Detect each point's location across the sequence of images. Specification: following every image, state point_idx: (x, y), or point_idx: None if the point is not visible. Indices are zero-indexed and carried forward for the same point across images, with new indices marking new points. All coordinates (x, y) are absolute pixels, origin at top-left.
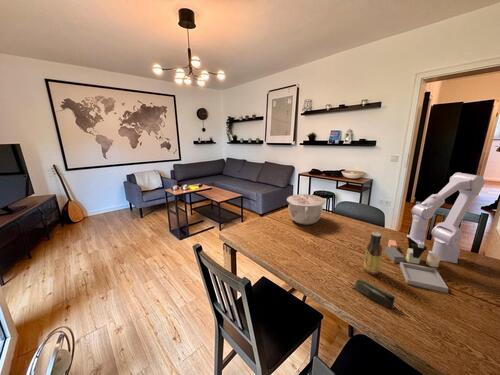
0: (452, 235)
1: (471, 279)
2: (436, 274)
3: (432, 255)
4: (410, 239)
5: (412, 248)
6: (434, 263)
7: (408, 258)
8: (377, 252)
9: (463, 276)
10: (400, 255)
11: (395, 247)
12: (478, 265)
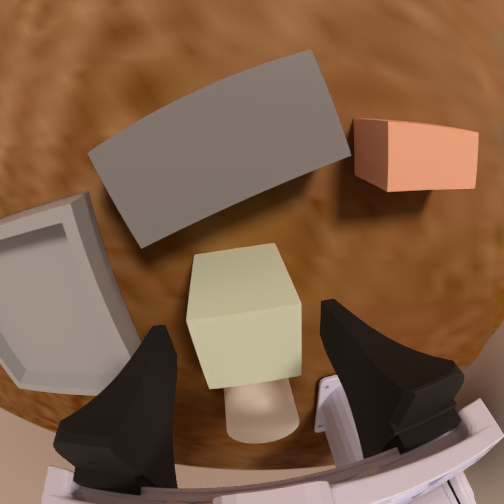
0: None
1: (201, 445)
2: (100, 383)
3: (259, 423)
4: (379, 395)
5: (325, 334)
6: (224, 397)
7: (202, 270)
8: None
9: (207, 436)
10: (155, 209)
11: (375, 170)
12: (325, 452)
